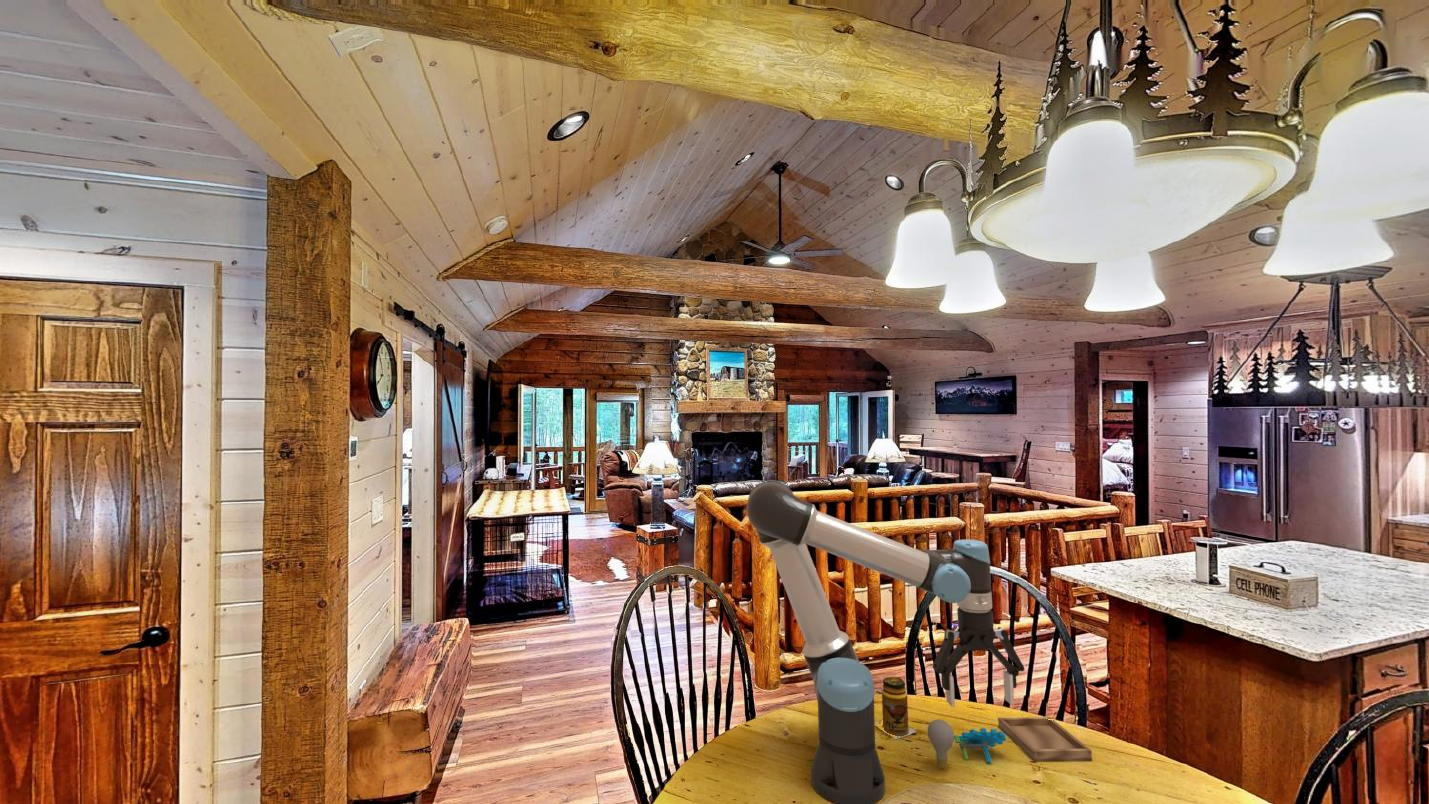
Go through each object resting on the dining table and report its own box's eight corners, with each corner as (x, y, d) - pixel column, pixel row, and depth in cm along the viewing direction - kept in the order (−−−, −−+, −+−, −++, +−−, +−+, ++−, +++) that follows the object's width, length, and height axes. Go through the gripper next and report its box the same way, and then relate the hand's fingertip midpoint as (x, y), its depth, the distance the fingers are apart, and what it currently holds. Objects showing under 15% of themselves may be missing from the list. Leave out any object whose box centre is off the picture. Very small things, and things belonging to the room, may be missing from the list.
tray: (1033, 761, 122) (1033, 751, 122) (998, 726, 137) (998, 717, 137) (1092, 760, 122) (1091, 750, 122) (1050, 726, 137) (1050, 717, 137)
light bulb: (939, 777, 117) (937, 728, 117) (923, 763, 122) (921, 716, 123) (961, 773, 118) (959, 725, 119) (944, 759, 123) (942, 713, 124)
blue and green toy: (1003, 740, 128) (1005, 724, 122) (1012, 770, 123) (1015, 754, 117) (953, 741, 130) (953, 725, 124) (960, 770, 126) (960, 755, 120)
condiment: (895, 740, 131) (894, 688, 132) (870, 724, 139) (868, 675, 140) (917, 732, 135) (915, 682, 136) (891, 717, 142) (889, 669, 143)
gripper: (927, 614, 124) (932, 712, 122) (1037, 611, 124) (1043, 709, 122) (915, 605, 131) (919, 696, 129) (1018, 602, 131) (1024, 693, 130)
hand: (980, 703), depth 126 cm, fingers open, 13 cm apart
